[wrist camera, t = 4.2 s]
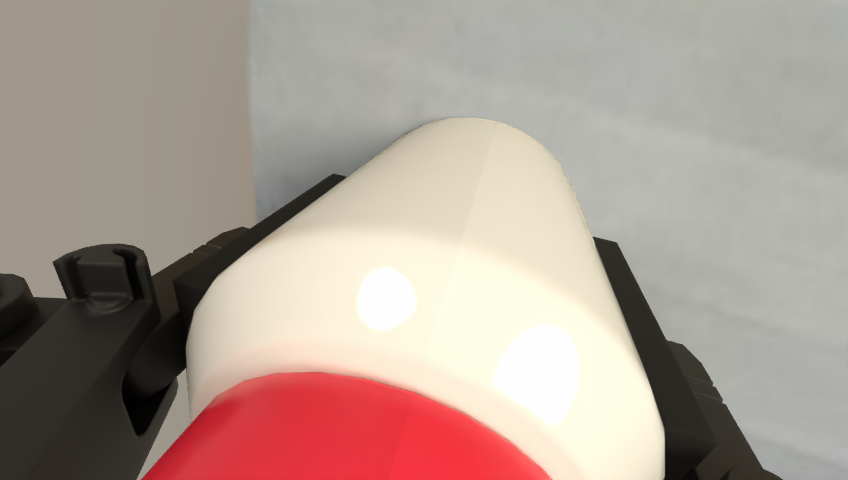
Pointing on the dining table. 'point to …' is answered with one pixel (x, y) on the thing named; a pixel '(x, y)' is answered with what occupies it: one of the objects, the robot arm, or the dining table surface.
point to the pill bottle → (422, 332)
